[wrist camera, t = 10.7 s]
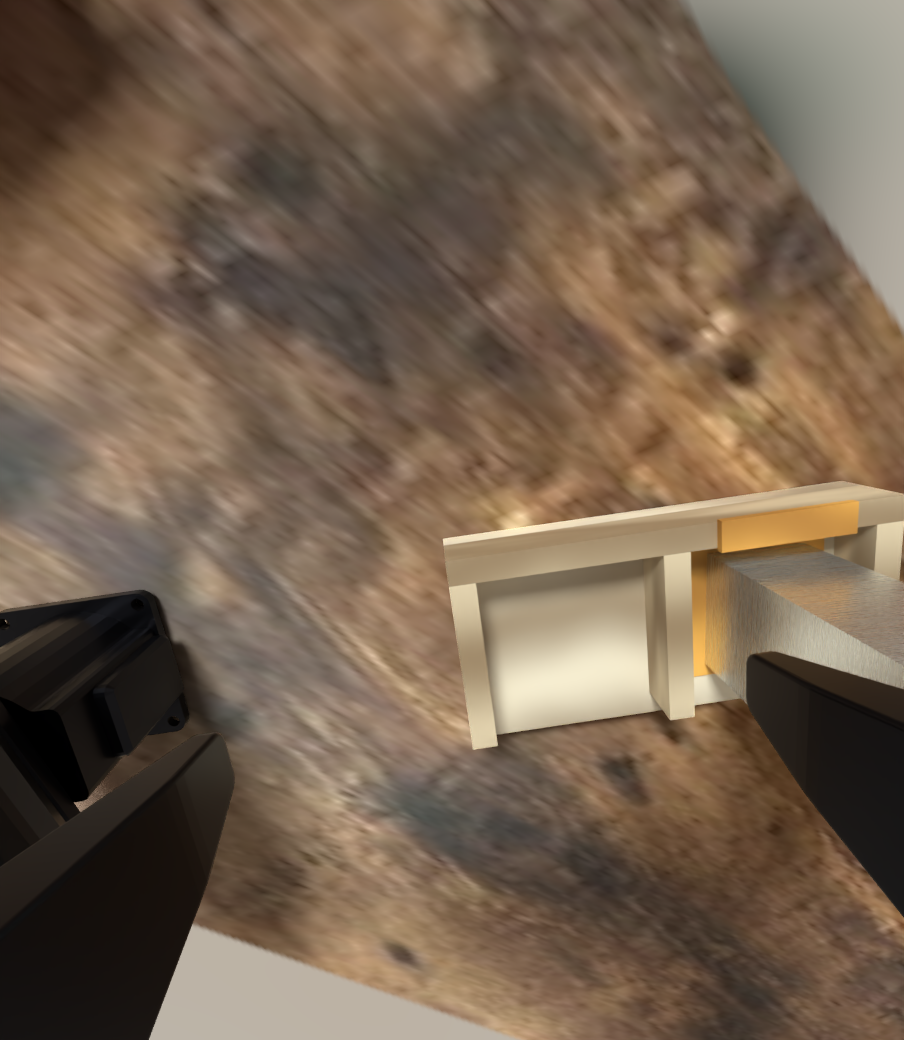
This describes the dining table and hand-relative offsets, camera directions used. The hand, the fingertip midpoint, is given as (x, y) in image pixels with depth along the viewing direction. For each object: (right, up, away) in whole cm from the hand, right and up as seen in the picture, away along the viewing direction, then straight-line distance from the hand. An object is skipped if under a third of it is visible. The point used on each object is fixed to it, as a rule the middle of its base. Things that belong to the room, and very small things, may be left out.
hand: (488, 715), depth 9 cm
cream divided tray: (+8, -1, +14) cm, 16 cm away
